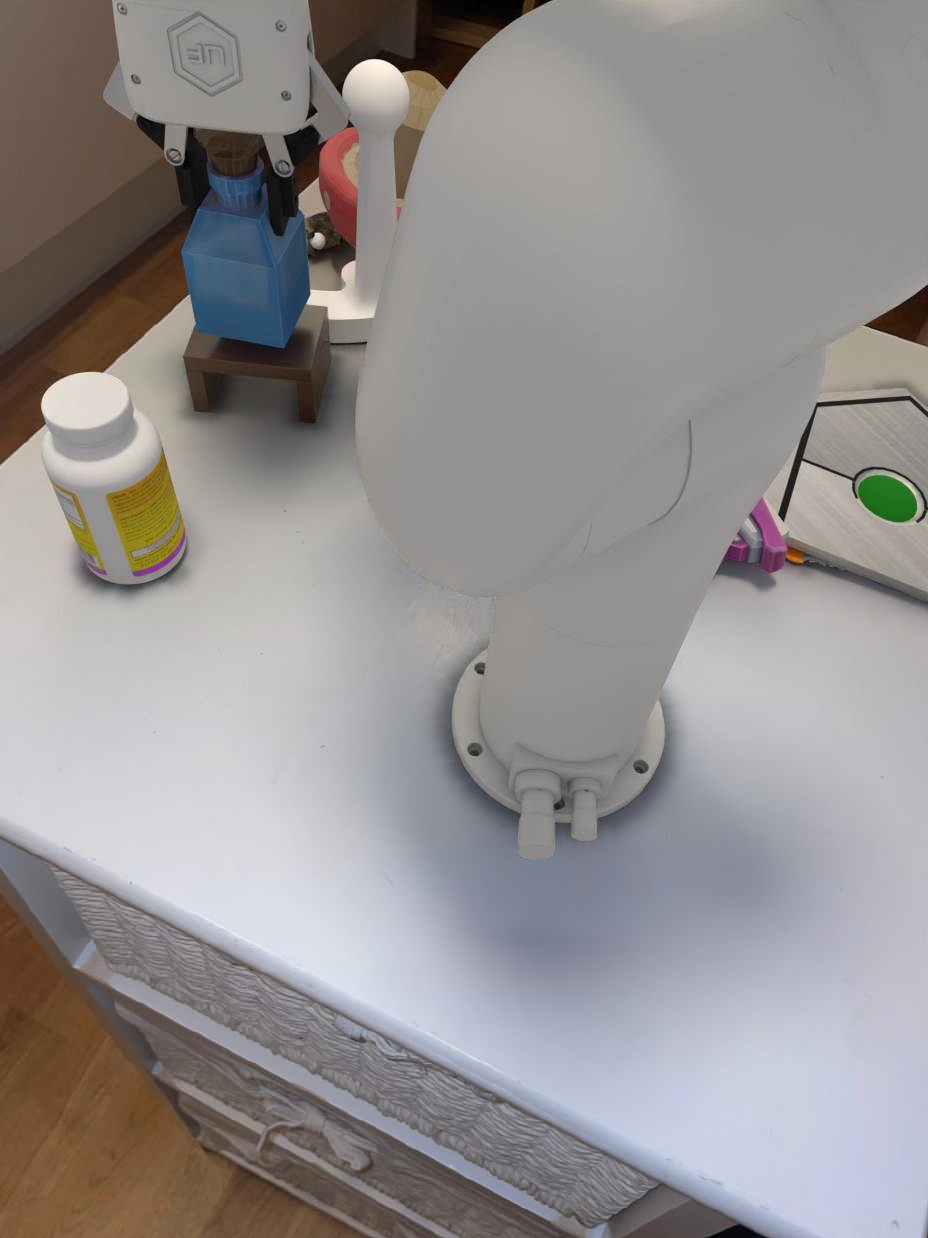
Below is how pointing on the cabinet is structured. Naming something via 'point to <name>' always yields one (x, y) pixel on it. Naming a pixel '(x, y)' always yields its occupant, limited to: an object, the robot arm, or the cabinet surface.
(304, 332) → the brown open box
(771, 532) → the toy gun
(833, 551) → the security device
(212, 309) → the perfume bottle
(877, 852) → the cabinet surface
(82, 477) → the supplement bottle
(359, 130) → the joystick
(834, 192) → the robot arm
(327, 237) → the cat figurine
